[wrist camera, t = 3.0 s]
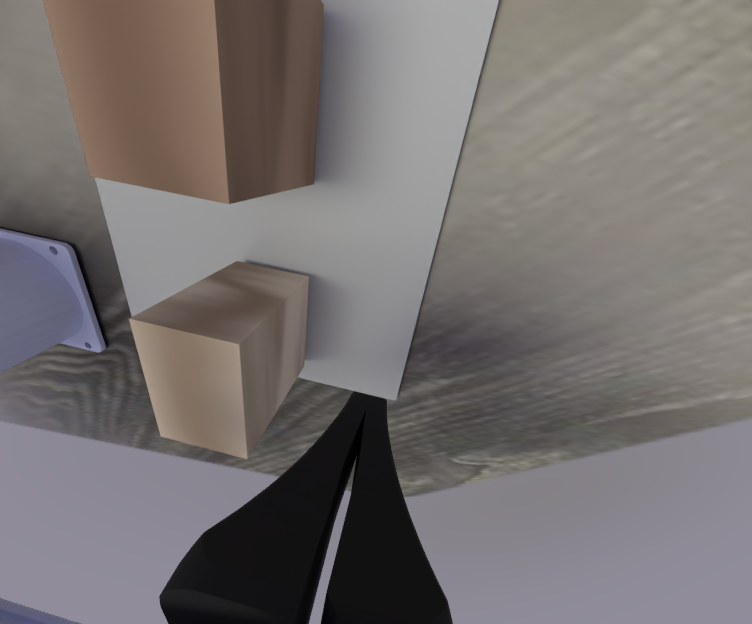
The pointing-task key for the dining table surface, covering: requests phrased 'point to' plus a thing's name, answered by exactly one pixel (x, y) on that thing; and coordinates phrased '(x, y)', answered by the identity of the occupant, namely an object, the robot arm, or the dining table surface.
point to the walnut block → (194, 92)
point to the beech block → (224, 355)
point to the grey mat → (337, 191)
